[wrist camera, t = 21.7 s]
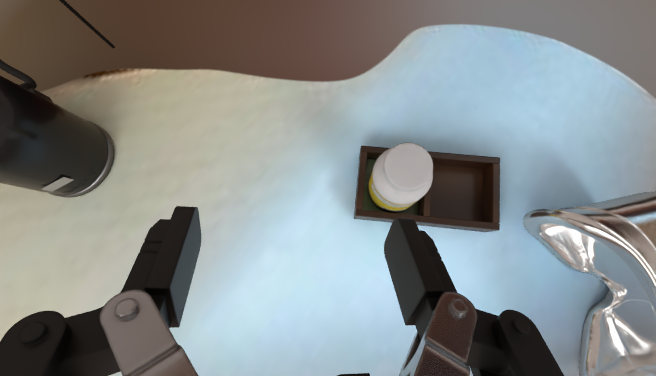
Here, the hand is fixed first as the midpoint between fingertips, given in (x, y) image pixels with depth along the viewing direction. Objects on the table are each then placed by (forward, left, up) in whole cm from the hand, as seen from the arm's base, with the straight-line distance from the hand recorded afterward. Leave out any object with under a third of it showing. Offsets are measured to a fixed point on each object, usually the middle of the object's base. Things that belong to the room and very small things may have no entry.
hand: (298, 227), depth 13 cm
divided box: (+2, +12, -23) cm, 26 cm away
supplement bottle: (0, +9, -22) cm, 24 cm away
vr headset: (+20, +18, -23) cm, 36 cm away
